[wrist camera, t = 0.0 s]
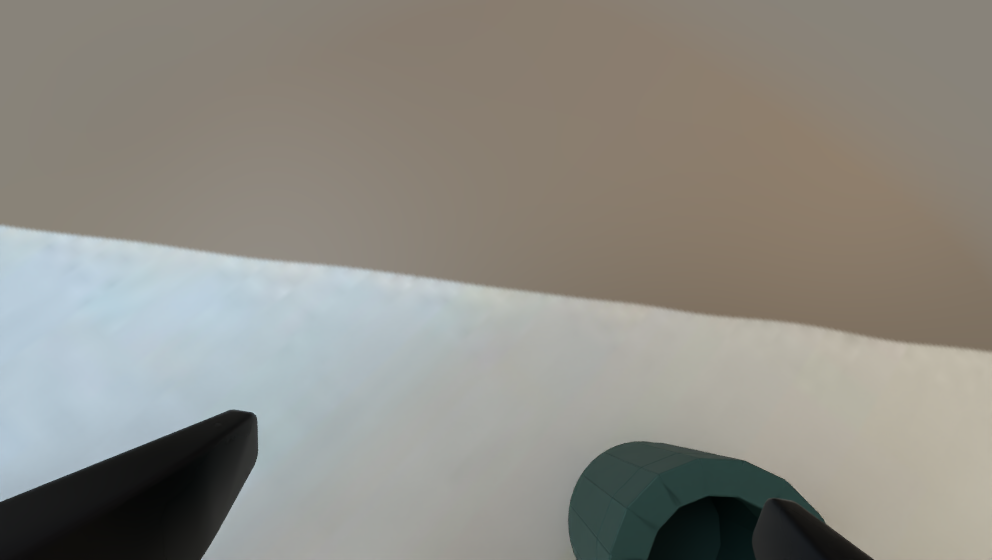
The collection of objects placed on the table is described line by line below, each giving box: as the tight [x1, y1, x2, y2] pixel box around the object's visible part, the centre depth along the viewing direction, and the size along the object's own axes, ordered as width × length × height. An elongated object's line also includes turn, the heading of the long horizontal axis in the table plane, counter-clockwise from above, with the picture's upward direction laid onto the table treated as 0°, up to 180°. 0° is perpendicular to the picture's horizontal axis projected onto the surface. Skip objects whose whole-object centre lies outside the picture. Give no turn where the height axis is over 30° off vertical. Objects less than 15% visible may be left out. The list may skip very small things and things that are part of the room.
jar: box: [568, 442, 826, 560], centre depth 18 cm, size 7×7×8 cm
